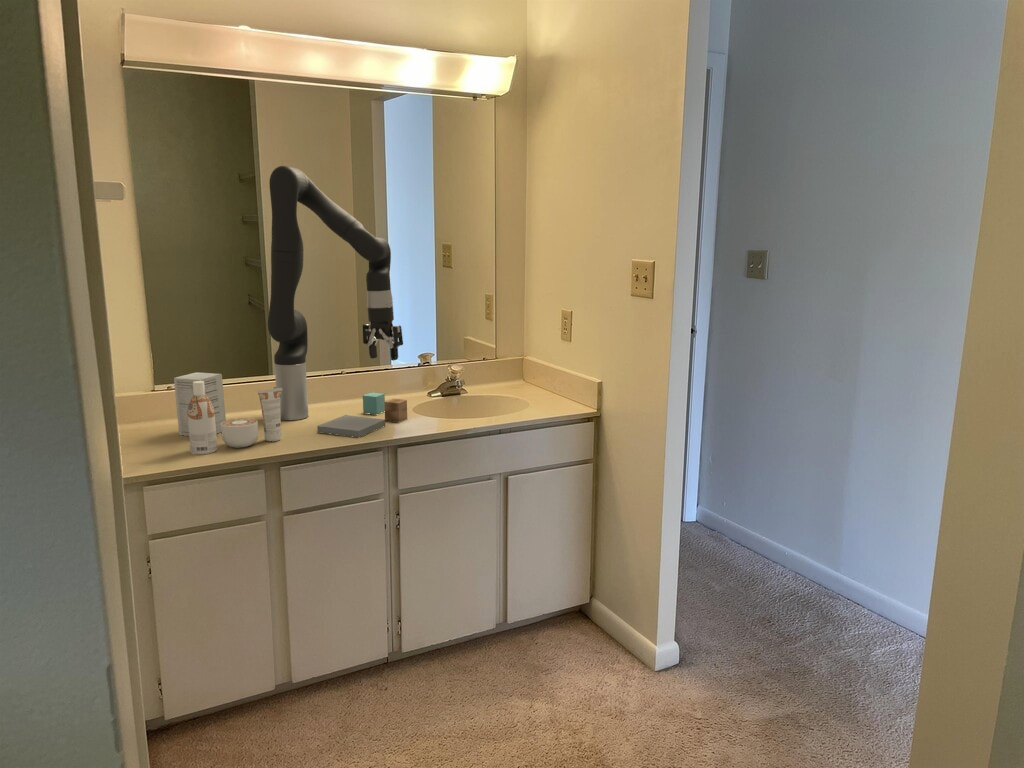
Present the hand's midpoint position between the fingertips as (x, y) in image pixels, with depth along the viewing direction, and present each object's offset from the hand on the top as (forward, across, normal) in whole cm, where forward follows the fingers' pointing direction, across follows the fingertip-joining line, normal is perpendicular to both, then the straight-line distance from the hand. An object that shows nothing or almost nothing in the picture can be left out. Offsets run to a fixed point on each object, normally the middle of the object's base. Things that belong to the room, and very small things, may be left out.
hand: (384, 359), depth 224 cm
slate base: (+19, -1, -14) cm, 23 cm away
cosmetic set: (+18, -14, -43) cm, 49 cm away
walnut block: (+19, +1, +2) cm, 19 cm away
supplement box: (+17, -33, -42) cm, 56 cm away
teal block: (+19, -10, +4) cm, 22 cm away
